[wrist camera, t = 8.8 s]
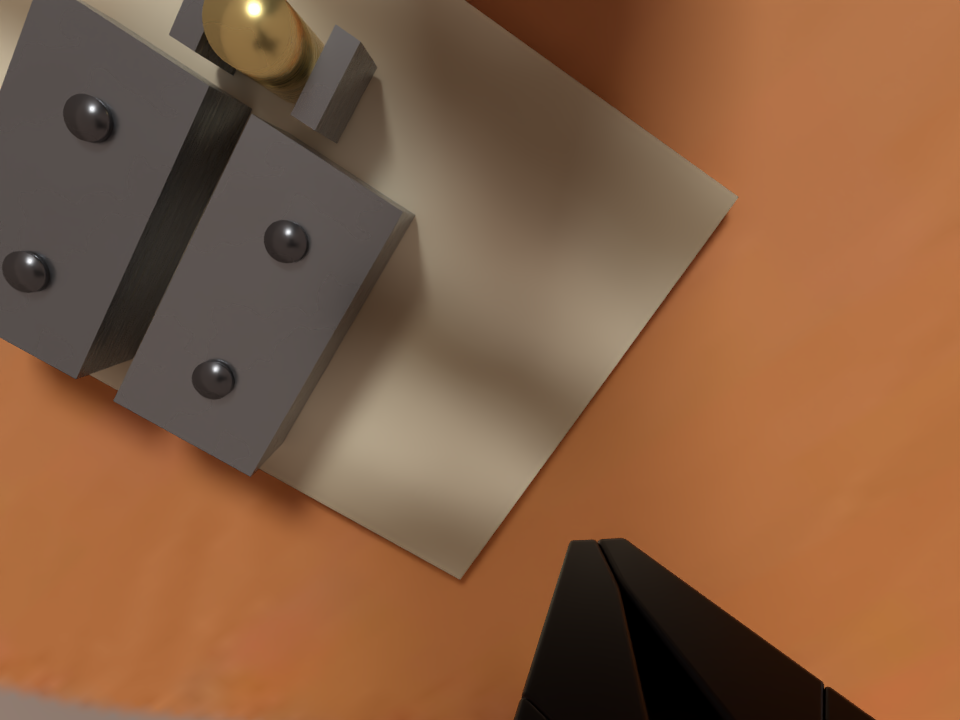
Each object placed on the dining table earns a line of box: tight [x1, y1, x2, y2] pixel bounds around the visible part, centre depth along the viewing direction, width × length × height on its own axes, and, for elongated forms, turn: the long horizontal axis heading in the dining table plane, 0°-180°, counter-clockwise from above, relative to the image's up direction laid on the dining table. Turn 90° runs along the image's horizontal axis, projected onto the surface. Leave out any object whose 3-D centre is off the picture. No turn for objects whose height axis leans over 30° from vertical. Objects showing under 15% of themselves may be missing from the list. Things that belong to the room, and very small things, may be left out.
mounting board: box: [0, 0, 738, 580], centre depth 16 cm, size 16×21×1 cm
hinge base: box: [0, 0, 325, 379], centre depth 14 cm, size 6×12×3 cm, turn 148°
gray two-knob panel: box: [114, 24, 415, 477], centre depth 15 cm, size 4×12×3 cm, turn 148°
